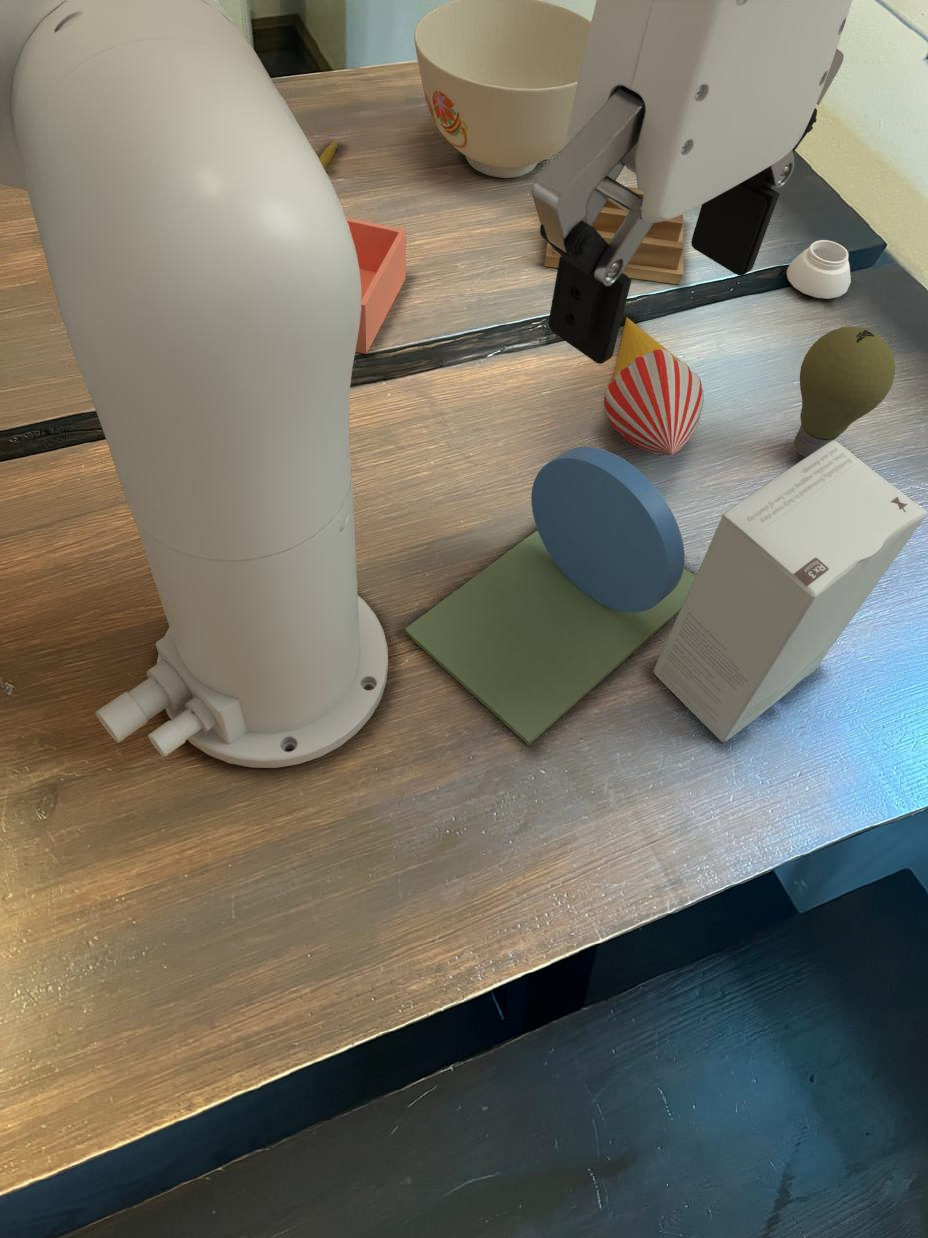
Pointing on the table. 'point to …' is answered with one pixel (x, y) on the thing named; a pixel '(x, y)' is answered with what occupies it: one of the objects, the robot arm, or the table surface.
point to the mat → (534, 637)
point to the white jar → (821, 270)
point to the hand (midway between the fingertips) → (652, 300)
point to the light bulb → (841, 384)
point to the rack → (642, 246)
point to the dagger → (328, 154)
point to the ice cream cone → (652, 395)
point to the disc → (608, 529)
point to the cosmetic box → (782, 585)
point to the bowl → (501, 79)
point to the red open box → (377, 274)
